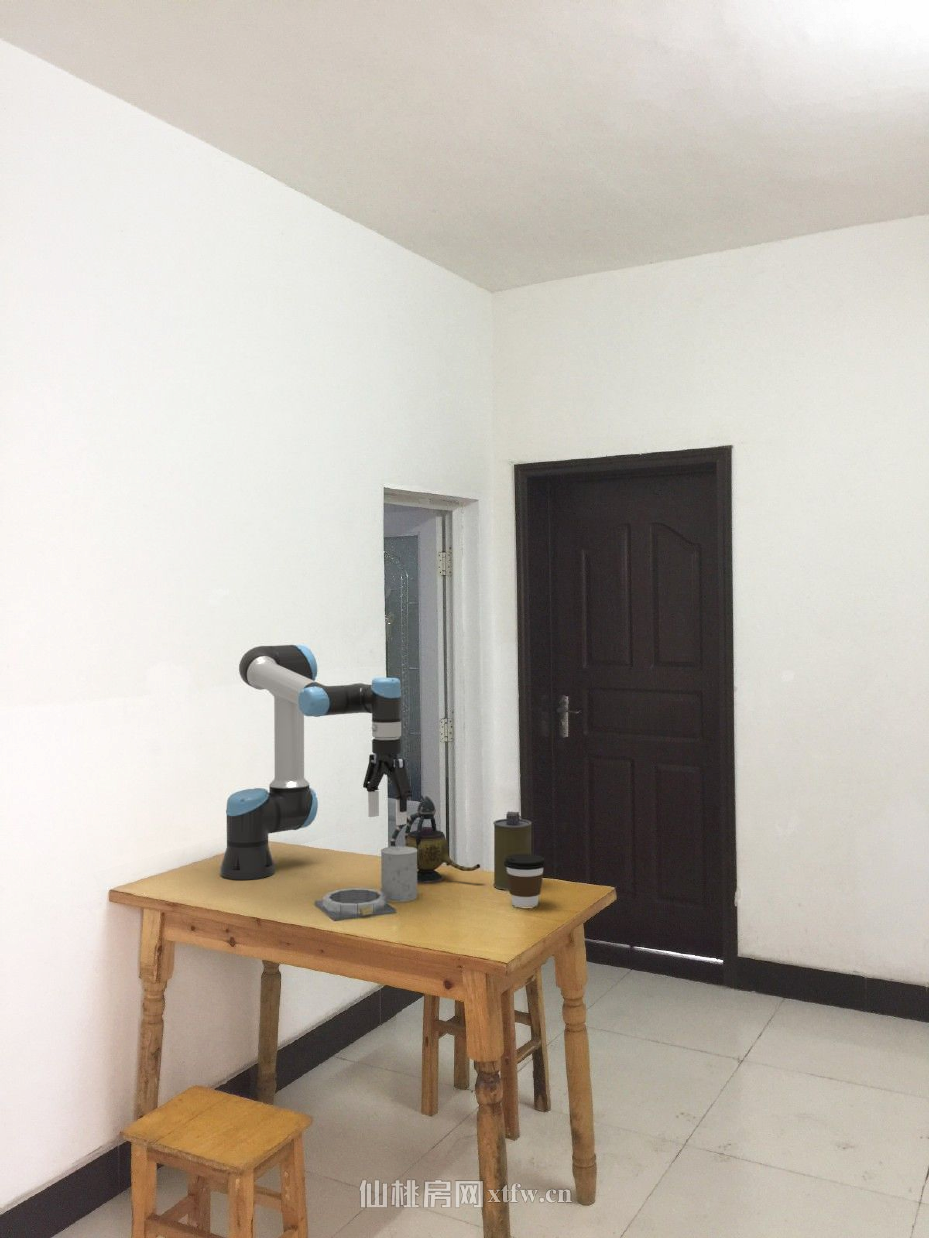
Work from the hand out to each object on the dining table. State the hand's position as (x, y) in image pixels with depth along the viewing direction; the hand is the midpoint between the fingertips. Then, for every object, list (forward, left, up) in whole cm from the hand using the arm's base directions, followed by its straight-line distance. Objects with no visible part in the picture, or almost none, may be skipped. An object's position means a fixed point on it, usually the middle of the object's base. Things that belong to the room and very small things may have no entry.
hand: (387, 820), depth 271 cm
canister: (+1, +36, -21) cm, 42 cm away
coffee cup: (+19, +30, -21) cm, 41 cm away
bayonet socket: (+3, -10, -21) cm, 23 cm away
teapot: (-13, +20, -21) cm, 32 cm away
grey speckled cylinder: (-2, +4, -21) cm, 22 cm away
